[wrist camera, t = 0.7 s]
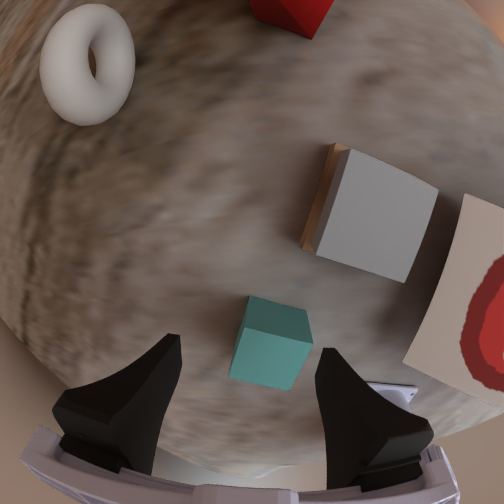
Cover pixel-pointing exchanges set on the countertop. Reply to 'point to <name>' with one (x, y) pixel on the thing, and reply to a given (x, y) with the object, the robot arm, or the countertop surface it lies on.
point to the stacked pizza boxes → (468, 309)
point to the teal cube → (271, 344)
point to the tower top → (373, 216)
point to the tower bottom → (322, 195)
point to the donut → (77, 66)
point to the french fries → (292, 14)
